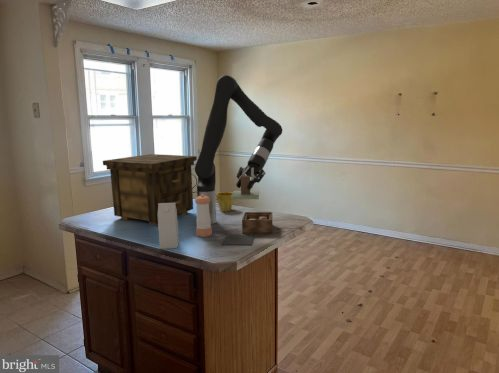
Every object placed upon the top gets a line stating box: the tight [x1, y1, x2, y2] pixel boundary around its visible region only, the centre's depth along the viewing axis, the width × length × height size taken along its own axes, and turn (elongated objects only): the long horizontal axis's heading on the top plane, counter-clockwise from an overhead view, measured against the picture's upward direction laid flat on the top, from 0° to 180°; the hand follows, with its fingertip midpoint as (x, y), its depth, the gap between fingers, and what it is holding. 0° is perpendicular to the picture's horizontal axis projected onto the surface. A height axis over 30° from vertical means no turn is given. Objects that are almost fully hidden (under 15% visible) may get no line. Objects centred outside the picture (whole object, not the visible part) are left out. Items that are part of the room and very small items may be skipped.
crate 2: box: [241, 211, 274, 235], centre depth 179 cm, size 14×14×7 cm
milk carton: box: [157, 203, 179, 250], centre depth 157 cm, size 7×7×19 cm
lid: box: [231, 174, 260, 200], centre depth 166 cm, size 12×12×9 cm
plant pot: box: [215, 191, 235, 212], centre depth 216 cm, size 10×10×10 cm
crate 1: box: [102, 153, 198, 226], centre depth 203 cm, size 35×35×33 cm
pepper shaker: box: [194, 194, 213, 238], centre depth 171 cm, size 7×7×19 cm
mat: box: [221, 234, 255, 246], centre depth 164 cm, size 13×13×1 cm
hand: (243, 187), depth 164 cm, fingers closed on lid, 5 cm apart
